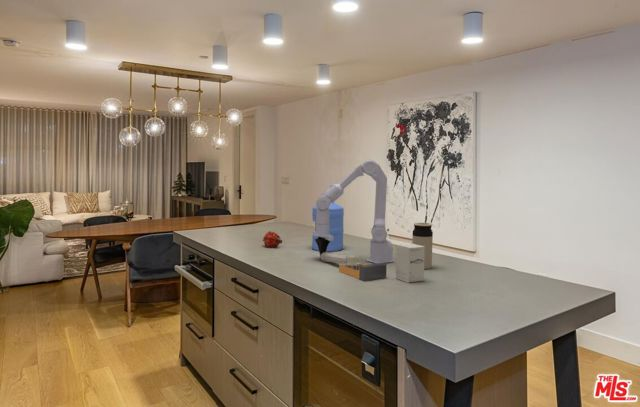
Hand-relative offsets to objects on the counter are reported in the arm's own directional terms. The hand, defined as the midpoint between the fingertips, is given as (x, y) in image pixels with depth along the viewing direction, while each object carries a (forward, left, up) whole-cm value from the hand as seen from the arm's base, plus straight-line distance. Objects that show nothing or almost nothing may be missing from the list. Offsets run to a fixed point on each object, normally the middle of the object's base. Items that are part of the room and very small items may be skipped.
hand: (322, 254), depth 190 cm
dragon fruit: (+6, -40, -3) cm, 41 cm away
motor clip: (0, +29, -2) cm, 29 cm away
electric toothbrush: (0, +14, -3) cm, 14 cm away
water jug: (-16, -22, -3) cm, 27 cm away
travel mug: (-29, +31, -3) cm, 42 cm away
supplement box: (-11, +44, -3) cm, 45 cm away
